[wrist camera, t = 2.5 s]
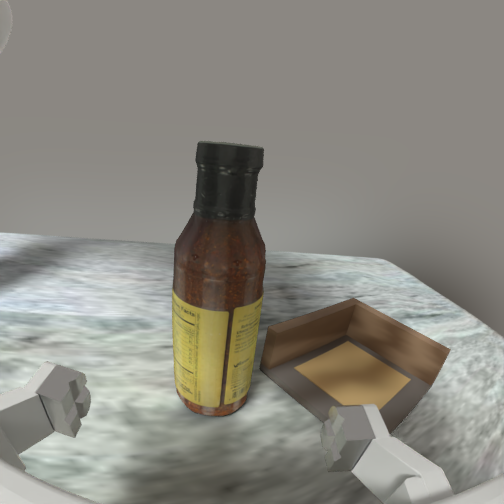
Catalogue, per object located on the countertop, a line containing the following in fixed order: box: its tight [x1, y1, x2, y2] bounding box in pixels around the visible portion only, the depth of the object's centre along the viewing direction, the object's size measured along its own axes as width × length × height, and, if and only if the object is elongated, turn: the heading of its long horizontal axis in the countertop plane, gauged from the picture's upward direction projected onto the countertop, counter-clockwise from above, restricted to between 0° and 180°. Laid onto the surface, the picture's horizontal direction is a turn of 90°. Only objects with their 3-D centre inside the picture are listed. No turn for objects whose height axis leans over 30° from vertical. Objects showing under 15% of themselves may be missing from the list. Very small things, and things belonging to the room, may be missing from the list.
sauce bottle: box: [172, 141, 266, 416], centre depth 21 cm, size 7×6×20 cm
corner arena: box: [260, 298, 450, 434], centre depth 27 cm, size 14×14×5 cm
